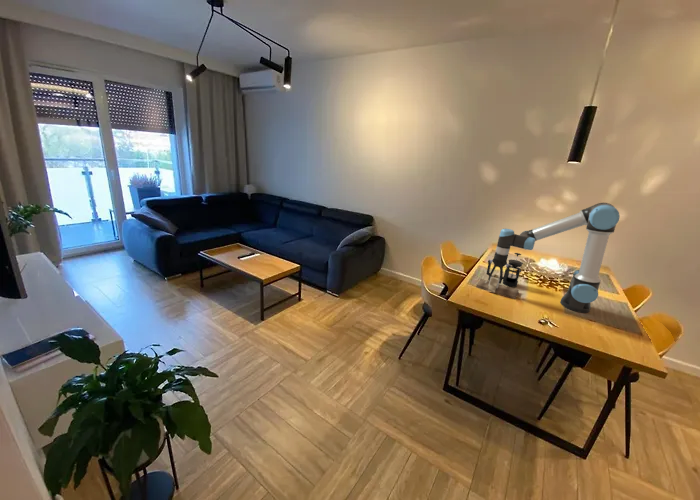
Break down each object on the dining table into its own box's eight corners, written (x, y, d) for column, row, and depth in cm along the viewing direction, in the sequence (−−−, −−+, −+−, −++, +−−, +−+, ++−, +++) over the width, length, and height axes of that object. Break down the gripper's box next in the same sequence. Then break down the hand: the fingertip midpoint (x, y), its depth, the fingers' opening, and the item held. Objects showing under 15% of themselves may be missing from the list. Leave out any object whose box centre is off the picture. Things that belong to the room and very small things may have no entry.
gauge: (496, 288, 202) (500, 274, 198) (494, 292, 196) (498, 278, 192) (490, 286, 204) (494, 272, 200) (487, 290, 198) (491, 276, 194)
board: (518, 292, 200) (518, 289, 200) (515, 299, 191) (516, 296, 190) (480, 281, 213) (480, 278, 212) (475, 287, 204) (476, 284, 203)
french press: (510, 280, 218) (518, 250, 210) (521, 286, 210) (529, 255, 202) (497, 281, 214) (505, 251, 206) (507, 288, 206) (516, 256, 198)
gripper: (517, 255, 190) (508, 288, 198) (488, 248, 199) (481, 280, 207) (515, 258, 184) (506, 292, 192) (486, 251, 193) (478, 284, 201)
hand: (493, 286), depth 199 cm, fingers closed on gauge, 4 cm apart
